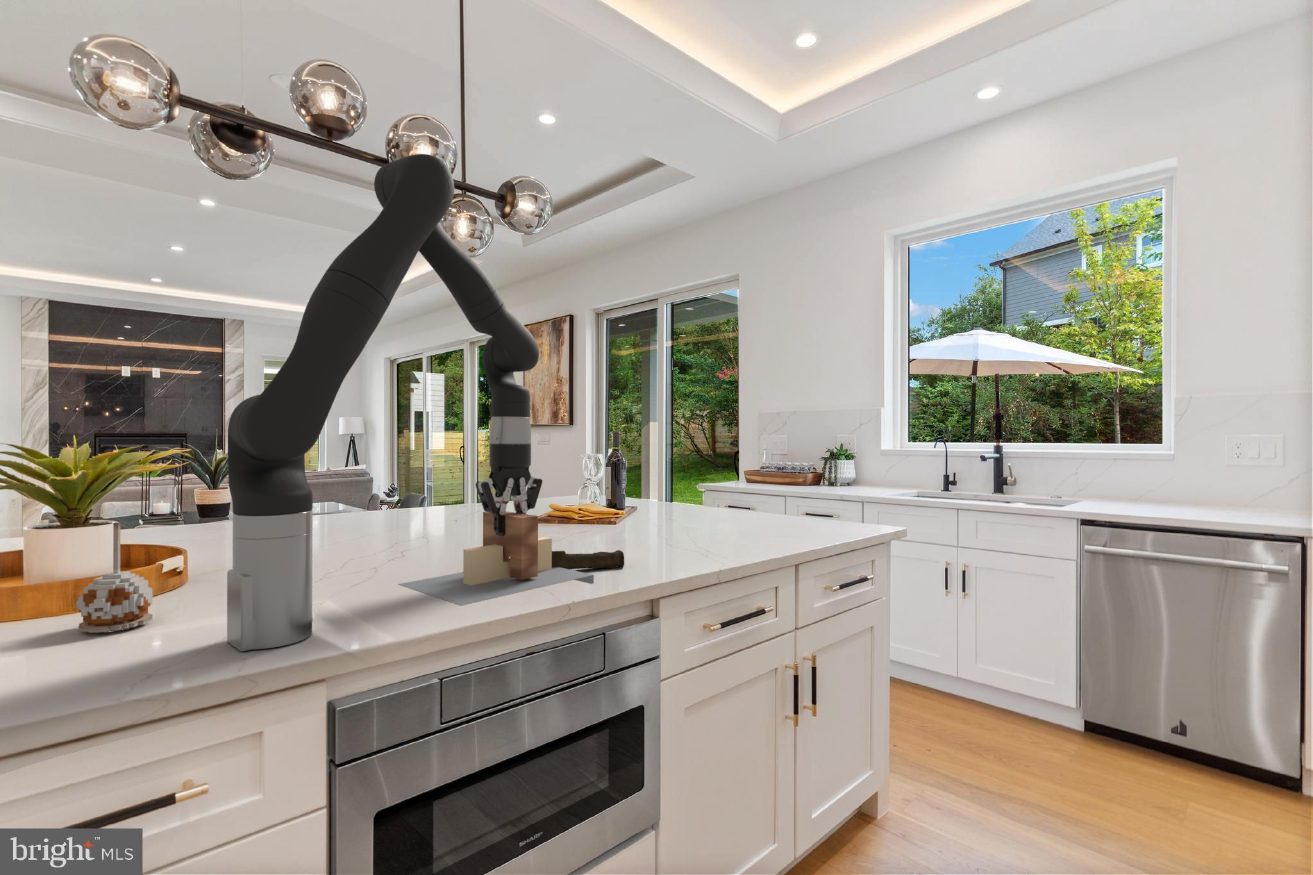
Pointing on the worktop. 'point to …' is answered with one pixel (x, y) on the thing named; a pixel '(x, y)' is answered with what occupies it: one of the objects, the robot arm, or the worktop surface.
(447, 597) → the slotted plate stand
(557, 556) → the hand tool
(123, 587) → the decorative ornament
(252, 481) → the robot arm
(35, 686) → the worktop surface
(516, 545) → the mahogany slotted plate
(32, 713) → the worktop surface
